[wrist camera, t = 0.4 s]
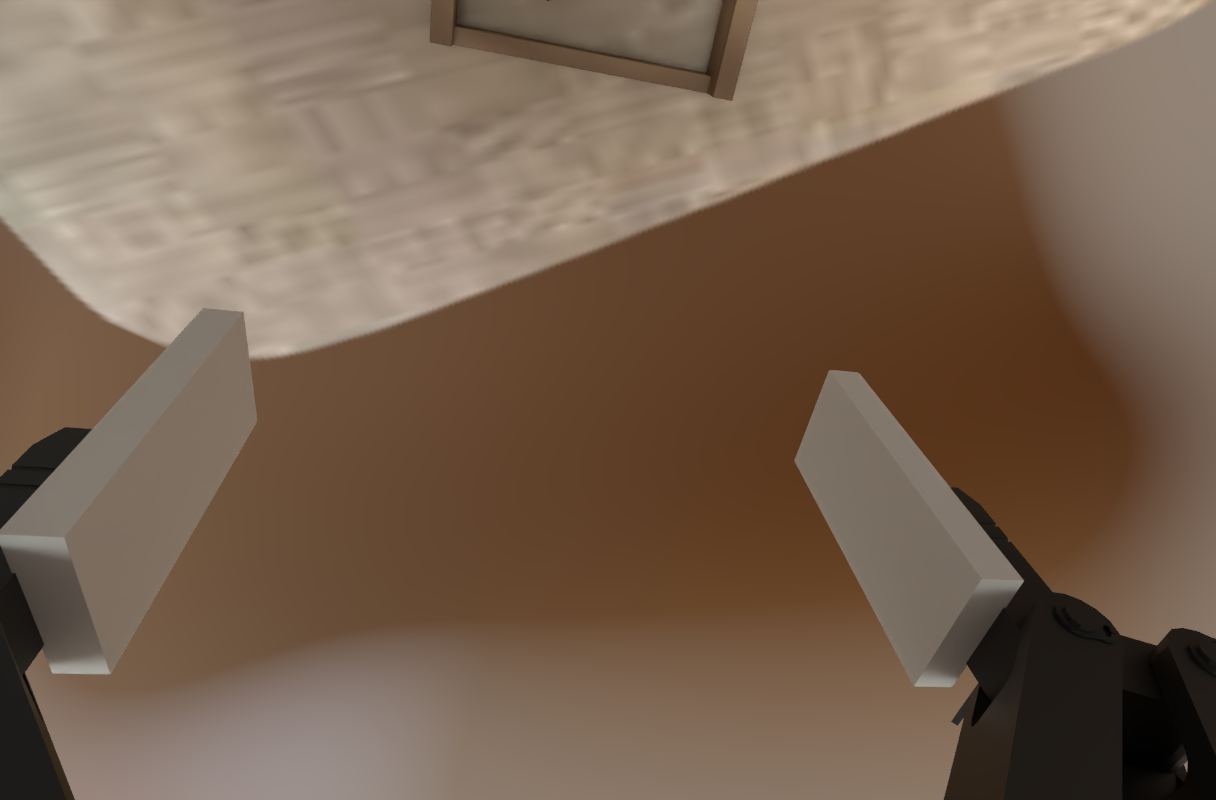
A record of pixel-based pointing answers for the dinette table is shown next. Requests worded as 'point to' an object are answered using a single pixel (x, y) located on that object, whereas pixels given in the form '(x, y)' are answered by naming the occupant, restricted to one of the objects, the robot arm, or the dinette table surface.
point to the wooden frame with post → (714, 82)
